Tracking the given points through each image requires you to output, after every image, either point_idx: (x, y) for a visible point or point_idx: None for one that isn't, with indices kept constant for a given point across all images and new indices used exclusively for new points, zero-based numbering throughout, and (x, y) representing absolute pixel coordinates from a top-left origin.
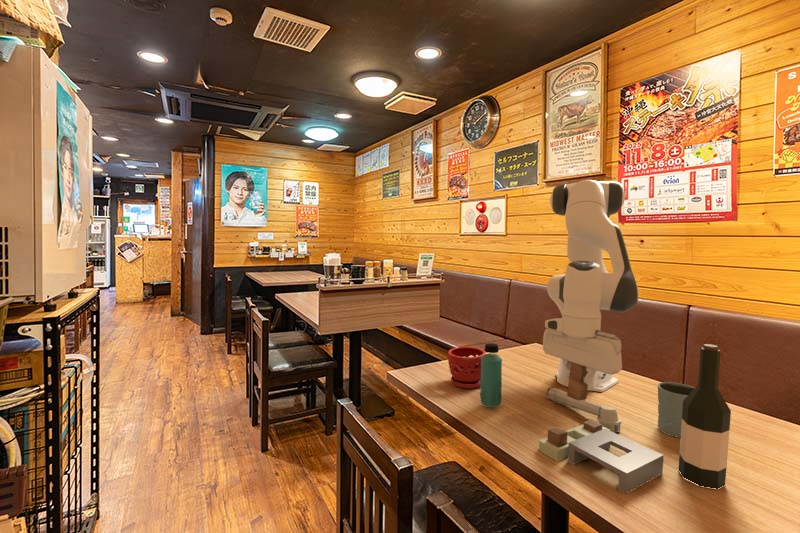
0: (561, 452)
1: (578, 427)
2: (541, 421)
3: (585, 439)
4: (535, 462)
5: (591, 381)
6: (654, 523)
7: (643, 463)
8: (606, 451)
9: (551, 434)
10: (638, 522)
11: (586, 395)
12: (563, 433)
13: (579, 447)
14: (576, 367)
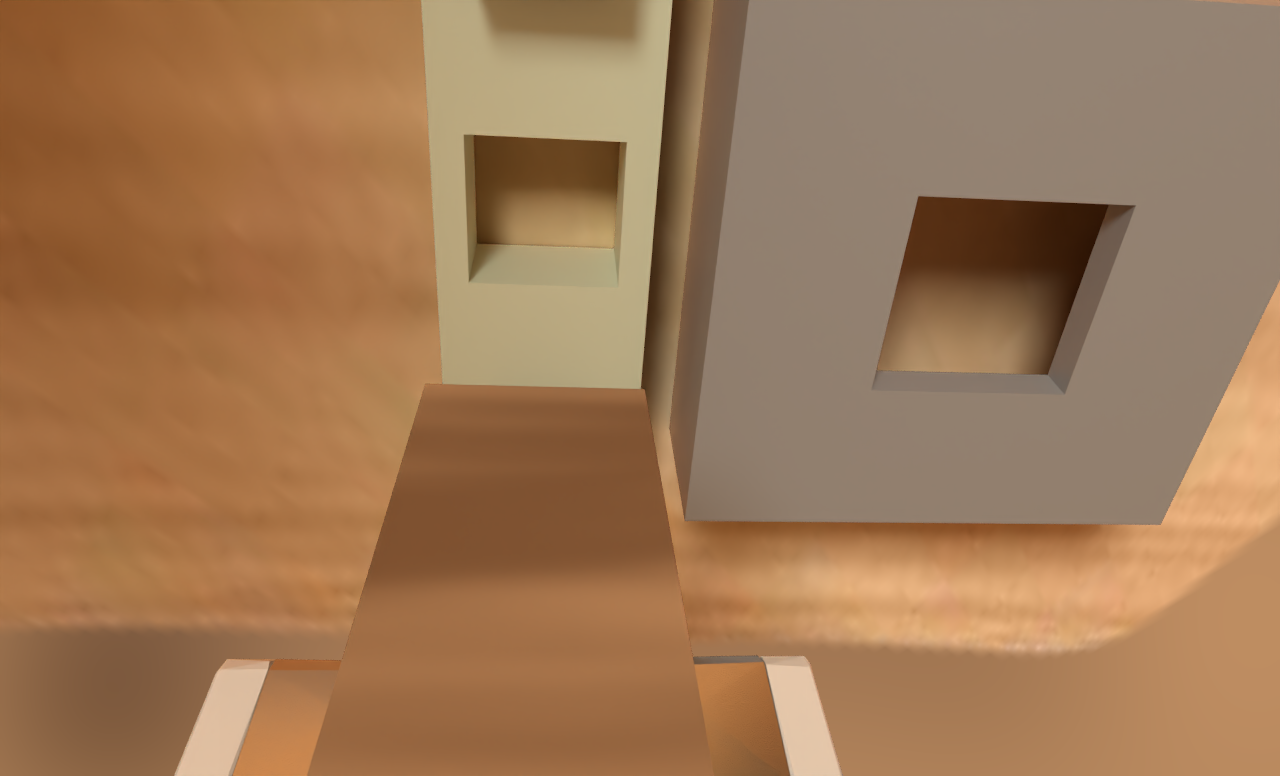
0: None
1: (443, 26)
2: (3, 50)
3: (743, 375)
4: None
5: (814, 686)
6: (1253, 519)
7: (1245, 321)
8: (957, 397)
9: None
10: (1185, 567)
11: (649, 425)
12: None
13: (780, 512)
14: None
